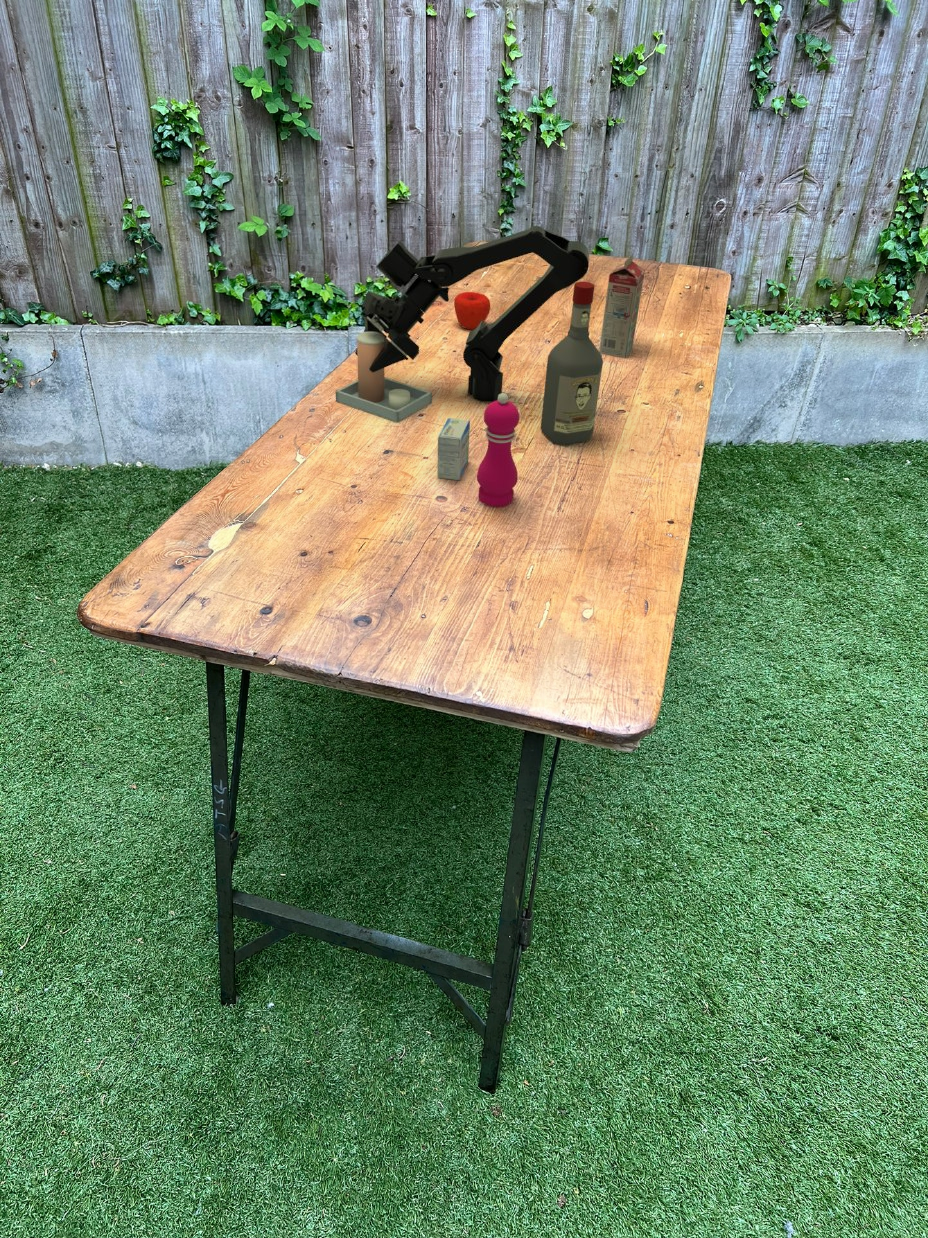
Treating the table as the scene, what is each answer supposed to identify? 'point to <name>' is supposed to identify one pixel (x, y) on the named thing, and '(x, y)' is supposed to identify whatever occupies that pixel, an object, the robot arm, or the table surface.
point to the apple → (471, 309)
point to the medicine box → (453, 449)
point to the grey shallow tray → (385, 400)
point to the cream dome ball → (398, 398)
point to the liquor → (573, 377)
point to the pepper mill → (498, 454)
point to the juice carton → (621, 309)
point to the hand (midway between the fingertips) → (363, 362)
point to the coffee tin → (367, 353)
